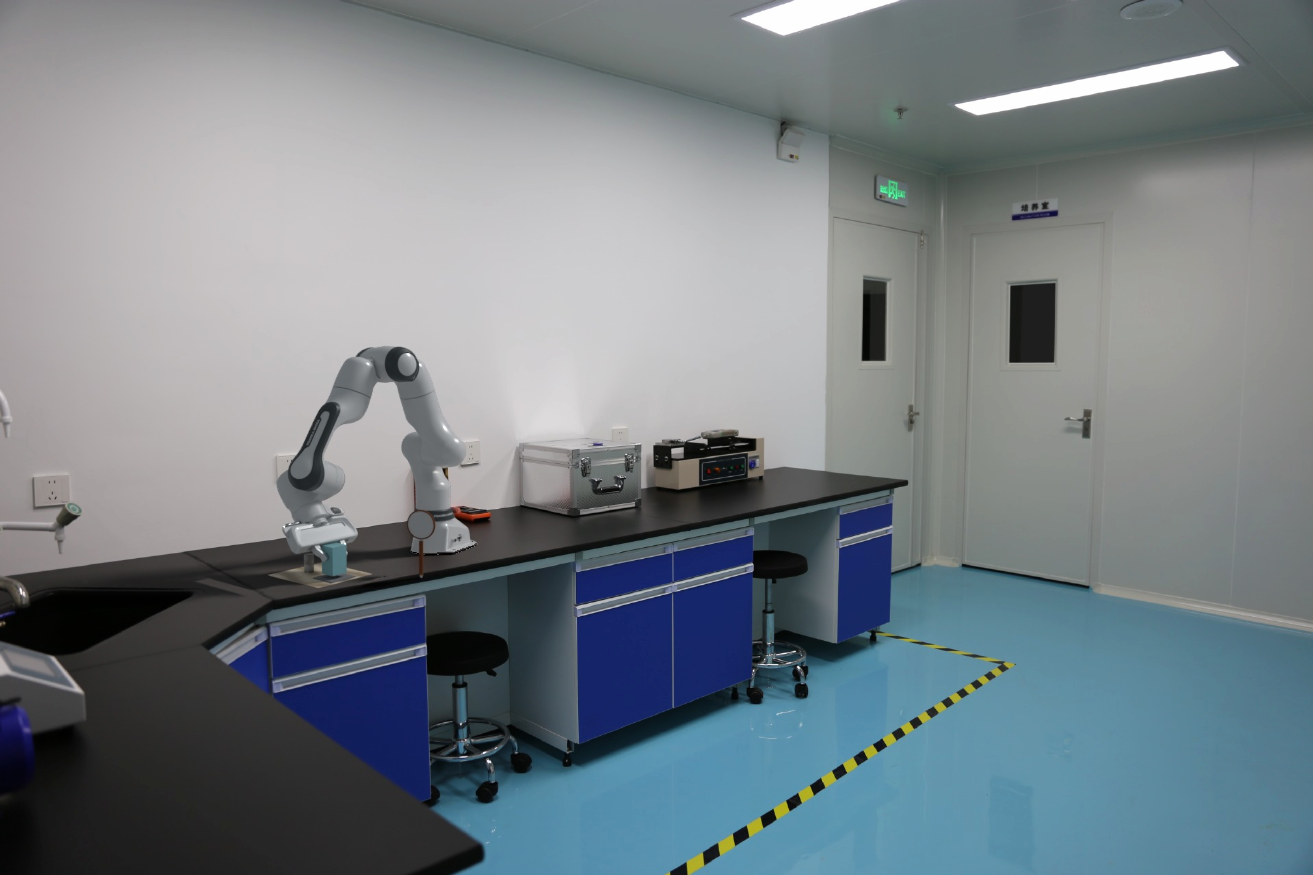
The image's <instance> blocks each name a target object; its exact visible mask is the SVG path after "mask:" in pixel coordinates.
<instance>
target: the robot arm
mask: <svg viewBox="0 0 1313 875" xmlns="http://www.w3.org/2000/svg"><path fill="white" fill-rule="evenodd" d="M378 383H382V384H383V383H384V384H386V383H388V384H389V383H394V384H395V386H396V388H397V393H398V397H399V400H400V403H401V407H402V409H403V412H404V417H405V420H406V422H407V423H408V424H409V425H410V426H411V427H412V428H413V429H414V430H415V431H413V432H409V433H408V434H406V435H404V438H403V439H402V441H401V452H402V455H403V457H404V458H405V459H406V460H407V462H408V465H409V466H410V469H411V473H412V477H413V480H414V486H415V487H414V488H415V507H414V510H413V512H414V511H416V510H425V511H427V512H429V513H430V514H431V515H432V516H433V518H434V520H435V531H434V533H433V534H432V535H431V536H430V537H429V538H427V539H422V541H423V553H437V552H455V551H457V550H460V549H462V548H466V547H468V546H472V545H474V544H475V543H477V541H475V540H472V539H471V537H470V535H471V534H470V529H469V527H468V526H466V525H465V524H464V523H462V522H461V521H460V520H458V519H457V518H456V516H455V514H460V512H461V508H460V507H456V506H453V507H452V506H451V502H452V501H451V498H452V496H451V495H452V494H451V493H452V492H451V491H452V489H451V484H450V483H451V482H450V481H449V479H448V478H447V477H446V476H445V473H444V471H443V469H445V468H446V469H447V468H454V467H458V466H459V465H461V464H462V463H463V462H464V460H465V458H466V455H467V448H466V444H465V442H464V441H463V440H462V439H461V438H460V437H459V436H457V434H455V431H453V428H451V426H450V425H449V423H448V422H447V420H446V418H445V416H444V414H443V412H442V409H441V406H440V404H439V400H438V397H437V394H436V393H437V392H436V389H435V386H434V383H433V380H432V377H431V374H430V373H429V370H428V368H427V367H426V365H425V363H424V362H423V361H422V360H420V359H418V357H417V356H416V354H415V352H413V351H412V350H411V349H409V348H408V347H407V348H406V347H403V346H393V345H382V346H376V347H375V346H371V347H367V348H363V349H362V350H360V351H359V352H358V353H357V354H356V355H355V356H351V357H348V358H346V360H344V362H343V364H342V365H341V367H340V369H339V370H338V373H337V375H336V377H335V380H334V382H333V385H332V387H331V390H330V393H329V396H328V398H327V400H326V402H325V403H324V404H323V405H321V407H320V408H319V410H318V411H317V413H316V415H315V417H314V419H313V421H312V423H311V426H310V427H309V430H308V432H307V434H306V437H305V439H304V441H303V443H302V444H301V447H300V449H299V451H297V454H296V455H295V456H294V457H293V458H292V460H291V461H290V463H289V465H288V467H287V470H285V471H284V472H282V473H281V474H280V475H279V476H278V478H277V480H276V489H277V493H278V495H279V497H280V500H281V501H282V503H283V505H284V507H285V508H286V509H287V510H288V511H289V512H290V515H291V518H292V520H293V522H288V523H285V524H284V525H283V526H282V529H281V531H282V533H283V535H284V536H285V538H286V539H285V540H286V542H287V544H288V546H289V548H290V551H291V552H292V553H293V554H294V555H300V554H306V553H309V552H312V554H314V556H316V557H318V558H319V559H320V560H321V563H322V562H325V561H328V560H329V559H330V557H329V556H328V553H324V552H323V551H322V545H326V544H331V543H340V544H345V545H346V546H347V544H349V543H353V542H354V541H355V540H356V539H357V537H358V534H359V532H358V530H357V528H356V526H355V524H354V523H353V522H352V520H351V519H350V518H349V517H348V516H346V515H345V510H344V509H343V508H342V507H336V506H330V505H328V504H327V505H326V504H323V501H326V500H328V499H330V498H332V497H334V496H335V495H337V494H338V493H339V492H341V490H343V488H344V486H345V483H346V475H345V472H344V470H343V469H342V468H341V467H340V466H339V465H336V464H334V463H332V462H330V461H326V460H325V453H326V451H327V449H328V446H329V444H330V442H331V439H332V437H333V435H334V433H335V431H336V430H337V429H338V428H339V427H341V426H343V425H348V424H353V423H356V422H358V421H360V420H362V419H363V417H364V416H365V414H366V412H367V411H368V408H369V405H370V403H371V402H370V401H371V399H372V396H373V392H374V388H375V386H376V385H377V384H378ZM412 537H413V536H412ZM419 541H420V539H417V538H415V537H413V538H412V543H411V548H410V552H411V551H412V552H411V553H413V552H417V553H419ZM472 541H473V542H472ZM477 544H478V543H477ZM417 553H416V554H417ZM348 554H349V553H348V552H347V556H348Z"/></svg>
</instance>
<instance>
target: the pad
mask: <svg viewBox="0 0 1313 875" xmlns="http://www.w3.org/2000/svg"><path fill="white" fill-rule="evenodd" d="M354 577H356V576H353V575H349V574H345V573H344V574H340V575H336V576H330V575H326V574H325V575H321V576H317V577H313V579H316V580H320V581H324V582H328V583H335V582H339V581H343V580H347V579H350V578H354Z"/></svg>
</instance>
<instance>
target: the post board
mask: <svg viewBox="0 0 1313 875" xmlns="http://www.w3.org/2000/svg"><path fill="white" fill-rule="evenodd" d="M345 574H349V575H353V576H356V577H354V578H350V579H347V580H343V581H339V582H335V583H328V582H324V581H320V580H316V579H313V577H317V576H321V575H325V574H322V562H317V563H315V555H314V554H313V553H303V566H301V567H296V568H292V569H288V570H284V571H280V572H275V573H272V574H268V576H270V577H274V578H277V579H281V580H285V581H288V582H293V583H297V584H301V585H304V586H309V587H312V588H316V589H320V588H324V587H328V586H332V585H337V584H340V583H344V582H347V581H351V580H356V579H359V578H363V577H366V576H371V575H372V573H371V572H366V571H361V570H357V569H353V568H349V567H347V573H345Z"/></svg>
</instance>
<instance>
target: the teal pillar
mask: <svg viewBox="0 0 1313 875" xmlns="http://www.w3.org/2000/svg"><path fill="white" fill-rule="evenodd" d="M347 549H348V548H347V544H346V545H345V544H340V543H331V544H326V545H322V549H321V551H323V552H324V553H328V556H329V557H330V559H329V560H328V561H325V562H322V561H321V563H322V574H326V575H330V576H336V575H340V574H344V573H347V568H348V567H347V564H348V562H347V558H348V557H347V556H348V555H347V553H348V551H347Z"/></svg>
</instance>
